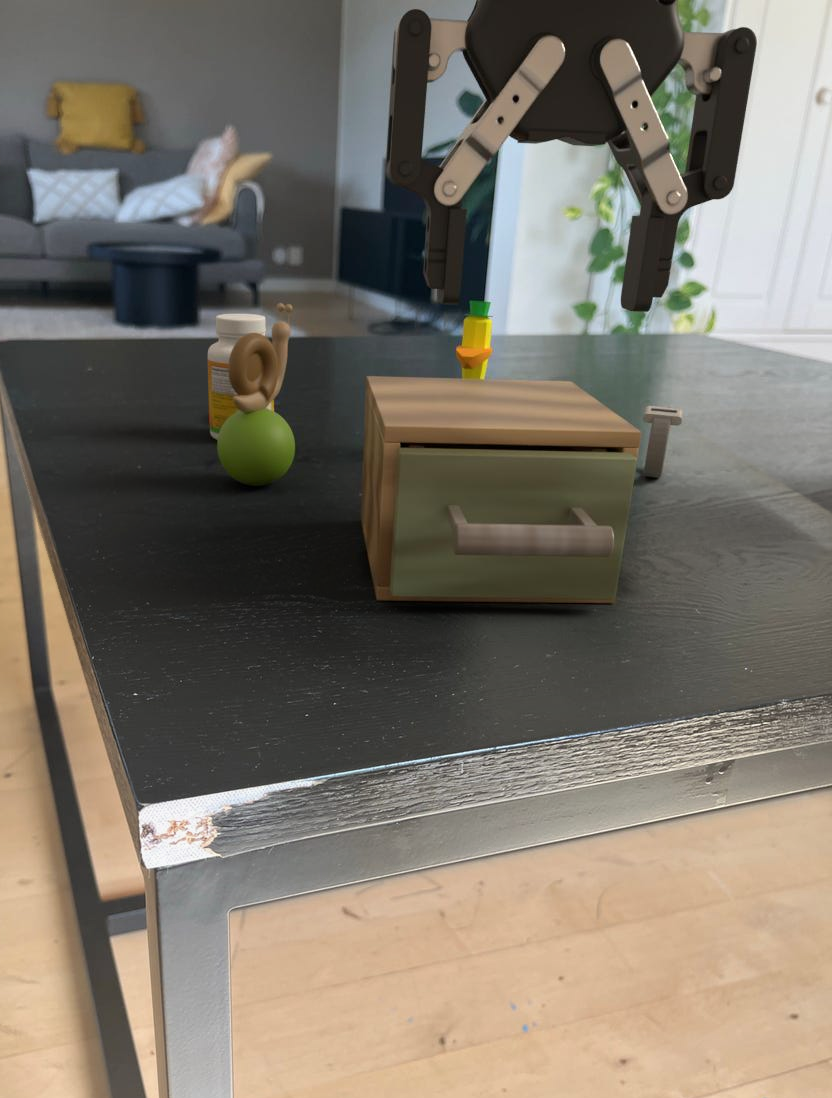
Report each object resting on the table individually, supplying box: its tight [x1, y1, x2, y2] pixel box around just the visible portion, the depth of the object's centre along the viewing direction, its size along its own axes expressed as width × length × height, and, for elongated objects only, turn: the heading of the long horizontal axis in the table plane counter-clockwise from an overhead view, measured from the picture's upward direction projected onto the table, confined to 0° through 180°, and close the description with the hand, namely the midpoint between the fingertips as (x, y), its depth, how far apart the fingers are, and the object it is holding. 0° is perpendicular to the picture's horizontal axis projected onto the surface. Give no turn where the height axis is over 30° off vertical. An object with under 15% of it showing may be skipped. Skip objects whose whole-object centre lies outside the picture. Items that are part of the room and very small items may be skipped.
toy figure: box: [455, 300, 494, 379], centre depth 76 cm, size 7×4×12 cm, turn 165°
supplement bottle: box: [207, 313, 275, 441], centre depth 81 cm, size 5×5×10 cm
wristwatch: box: [642, 405, 683, 479], centre depth 75 cm, size 6×3×5 cm, turn 162°
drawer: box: [390, 443, 638, 600], centre depth 51 cm, size 17×11×7 cm, turn 3°
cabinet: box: [360, 375, 642, 604], centre depth 56 cm, size 14×13×9 cm
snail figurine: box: [216, 302, 296, 487], centre depth 68 cm, size 5×6×12 cm
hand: (542, 306), depth 42 cm, fingers open, 7 cm apart
